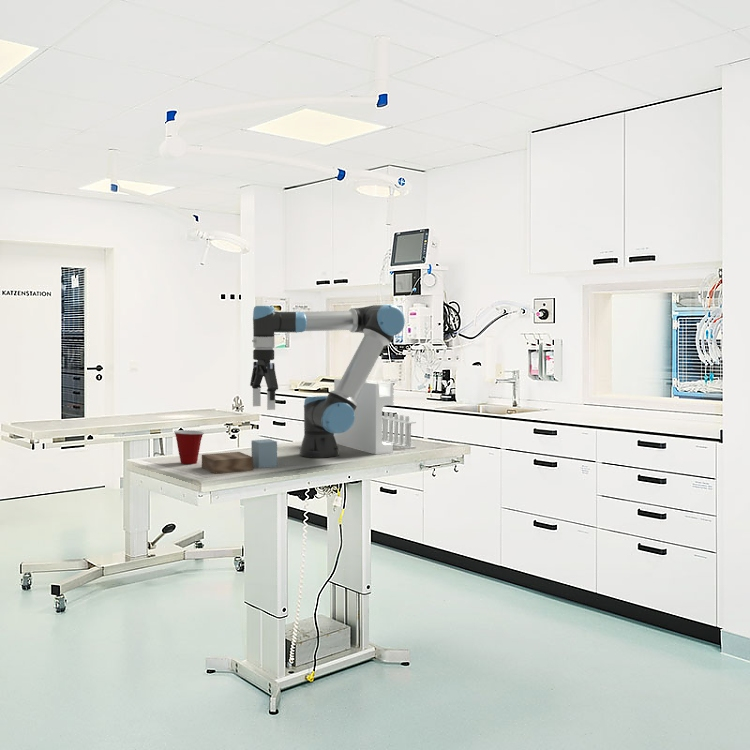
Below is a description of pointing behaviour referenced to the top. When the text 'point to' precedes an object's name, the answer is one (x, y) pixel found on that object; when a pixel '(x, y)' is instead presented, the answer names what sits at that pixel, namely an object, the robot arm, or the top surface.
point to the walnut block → (227, 462)
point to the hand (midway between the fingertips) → (263, 408)
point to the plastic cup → (188, 445)
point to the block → (368, 418)
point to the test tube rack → (401, 438)
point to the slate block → (264, 453)
